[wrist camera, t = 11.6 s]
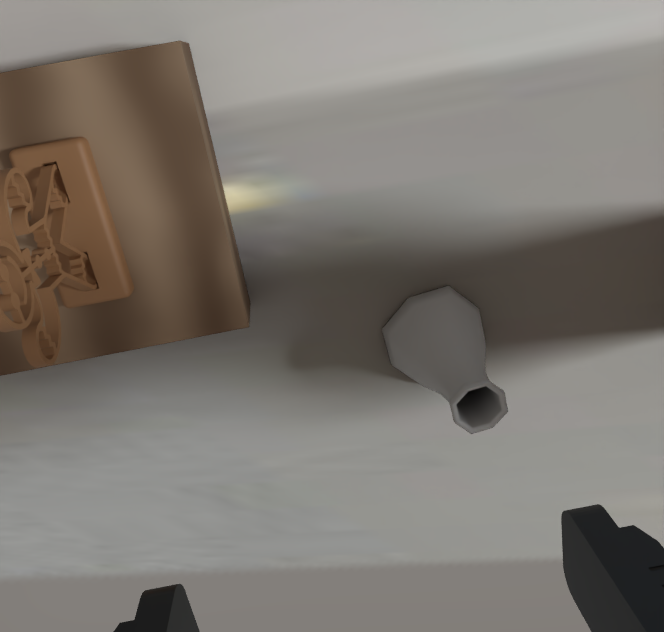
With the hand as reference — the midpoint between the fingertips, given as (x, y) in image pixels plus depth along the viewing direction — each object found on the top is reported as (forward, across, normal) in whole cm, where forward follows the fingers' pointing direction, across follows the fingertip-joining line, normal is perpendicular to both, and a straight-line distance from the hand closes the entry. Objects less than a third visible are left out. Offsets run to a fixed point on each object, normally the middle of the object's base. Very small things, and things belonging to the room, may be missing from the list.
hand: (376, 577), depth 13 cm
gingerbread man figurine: (+24, +13, -4) cm, 28 cm away
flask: (+29, -7, +9) cm, 31 cm away
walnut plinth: (+28, +13, -4) cm, 31 cm away
